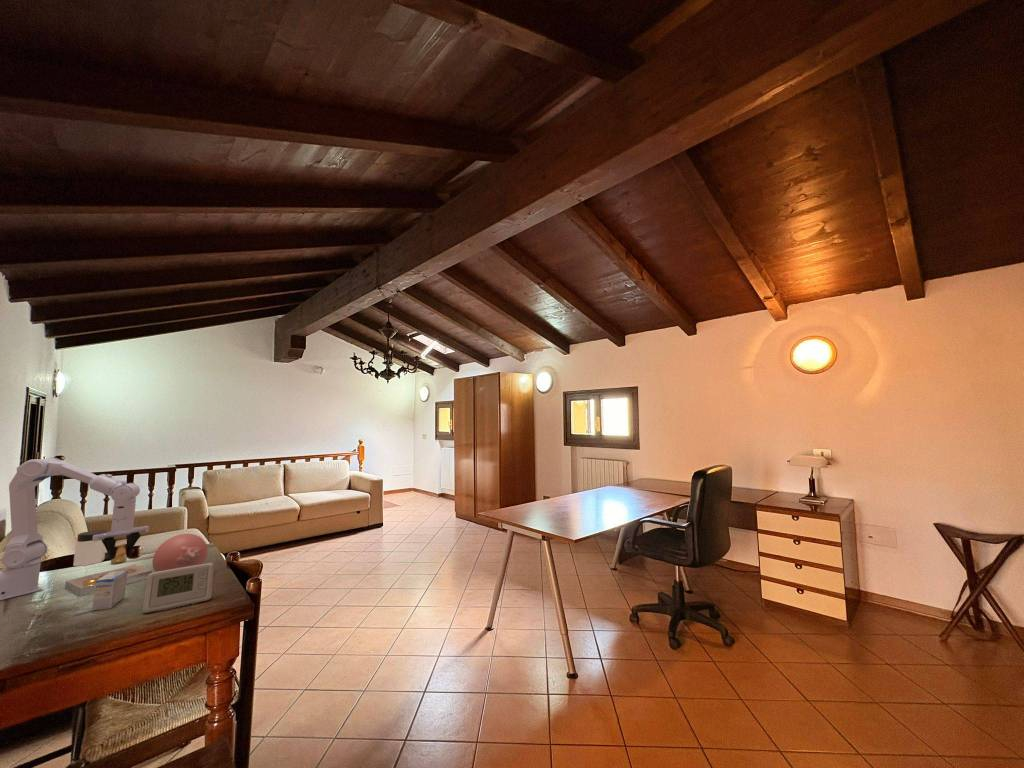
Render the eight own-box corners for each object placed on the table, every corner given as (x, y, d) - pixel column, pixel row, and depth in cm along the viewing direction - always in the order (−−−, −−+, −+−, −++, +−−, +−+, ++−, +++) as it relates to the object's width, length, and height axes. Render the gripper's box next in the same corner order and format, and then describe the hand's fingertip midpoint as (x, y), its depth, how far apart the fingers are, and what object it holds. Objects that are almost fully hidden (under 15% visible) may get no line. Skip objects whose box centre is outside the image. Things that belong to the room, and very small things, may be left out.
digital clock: (138, 616, 113) (141, 577, 114) (151, 603, 121) (155, 567, 122) (207, 605, 119) (209, 568, 121) (215, 594, 127) (218, 560, 129)
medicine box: (106, 600, 123) (109, 571, 124) (124, 598, 125) (127, 569, 126) (91, 611, 116) (94, 580, 117) (111, 608, 118) (114, 578, 119)
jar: (100, 558, 165) (103, 528, 167) (108, 560, 161) (111, 530, 163) (69, 564, 157) (73, 533, 159) (76, 567, 154) (80, 536, 155)
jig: (79, 596, 126) (81, 585, 127) (64, 588, 133) (66, 577, 133) (150, 577, 142) (151, 567, 143) (134, 571, 149) (135, 561, 149)
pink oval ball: (159, 593, 128) (164, 545, 130) (145, 580, 140) (149, 535, 142) (216, 579, 140) (219, 534, 142) (198, 567, 152) (202, 527, 154)
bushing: (113, 565, 138) (115, 547, 138) (108, 564, 139) (110, 546, 140) (128, 561, 141) (130, 544, 142) (123, 560, 143) (124, 543, 144)
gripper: (99, 523, 134) (95, 564, 132) (153, 515, 146) (150, 552, 145) (92, 521, 137) (87, 561, 135) (145, 513, 150) (141, 550, 148)
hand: (119, 557), depth 140 cm, fingers closed on bushing, 4 cm apart
